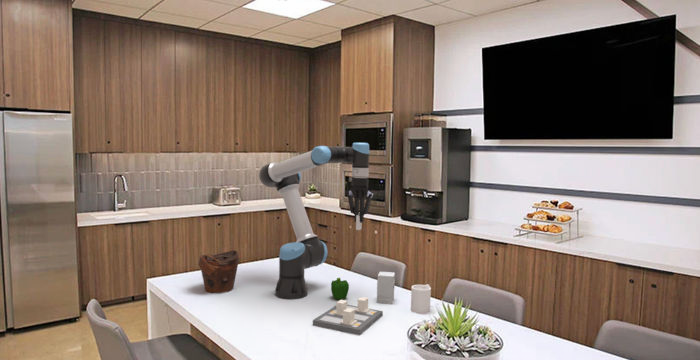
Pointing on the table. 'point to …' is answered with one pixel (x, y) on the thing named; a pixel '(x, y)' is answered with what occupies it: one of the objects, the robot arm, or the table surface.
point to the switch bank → (358, 328)
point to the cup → (420, 298)
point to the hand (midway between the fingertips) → (358, 229)
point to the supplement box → (385, 287)
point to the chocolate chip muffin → (219, 271)
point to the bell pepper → (339, 289)
